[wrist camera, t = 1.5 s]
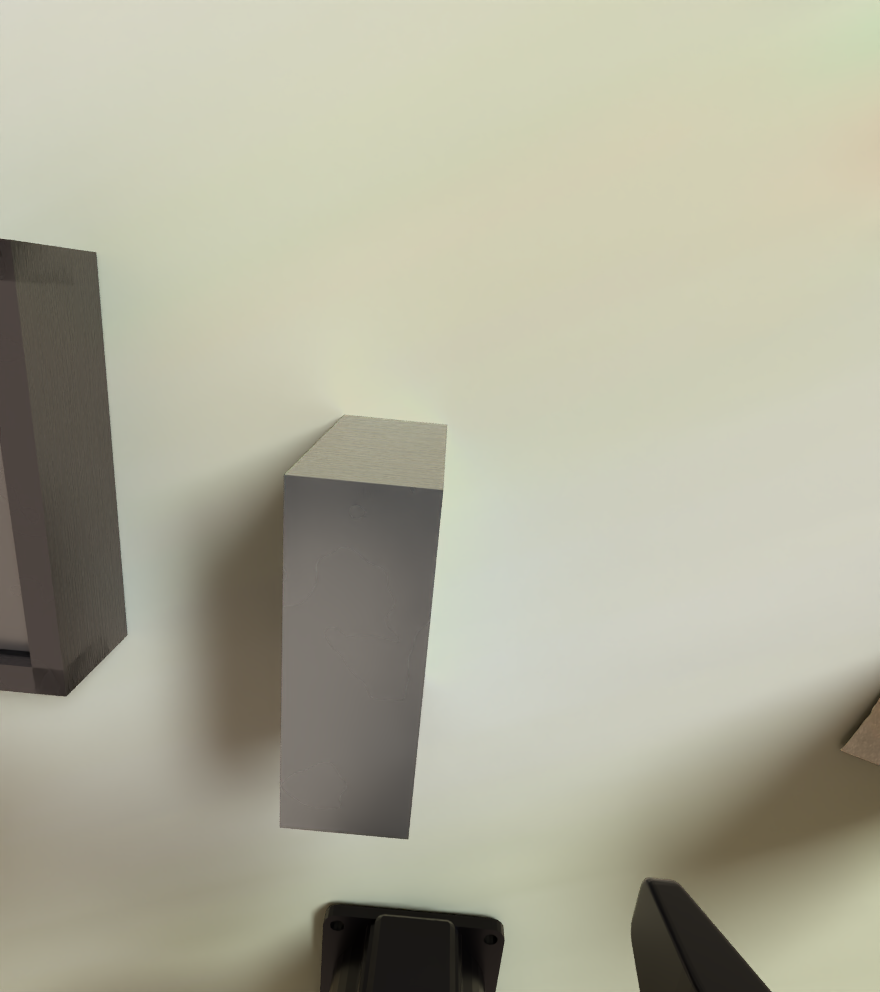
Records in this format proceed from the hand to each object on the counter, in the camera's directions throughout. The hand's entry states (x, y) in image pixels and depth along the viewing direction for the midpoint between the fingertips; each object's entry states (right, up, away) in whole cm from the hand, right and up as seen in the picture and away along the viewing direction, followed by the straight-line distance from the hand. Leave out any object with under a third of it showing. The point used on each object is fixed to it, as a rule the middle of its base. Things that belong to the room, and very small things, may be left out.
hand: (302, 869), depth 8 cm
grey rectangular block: (0, +3, +9) cm, 10 cm away
